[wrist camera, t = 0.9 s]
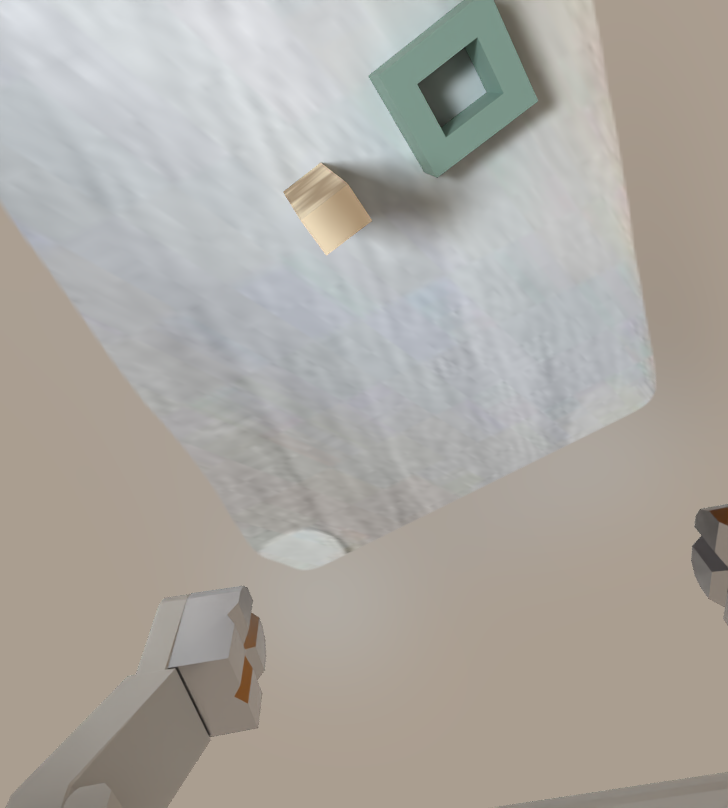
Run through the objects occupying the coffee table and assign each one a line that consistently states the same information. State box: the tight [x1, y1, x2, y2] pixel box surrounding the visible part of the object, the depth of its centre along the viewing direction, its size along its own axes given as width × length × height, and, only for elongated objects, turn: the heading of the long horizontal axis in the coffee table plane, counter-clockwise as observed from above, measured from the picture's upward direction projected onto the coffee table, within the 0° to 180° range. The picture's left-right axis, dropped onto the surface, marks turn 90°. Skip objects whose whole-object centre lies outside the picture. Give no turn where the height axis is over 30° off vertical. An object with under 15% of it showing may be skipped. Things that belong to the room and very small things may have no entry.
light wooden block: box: [284, 163, 372, 255], centre depth 47 cm, size 4×3×12 cm
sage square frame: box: [369, 0, 538, 178], centre depth 49 cm, size 10×9×4 cm
